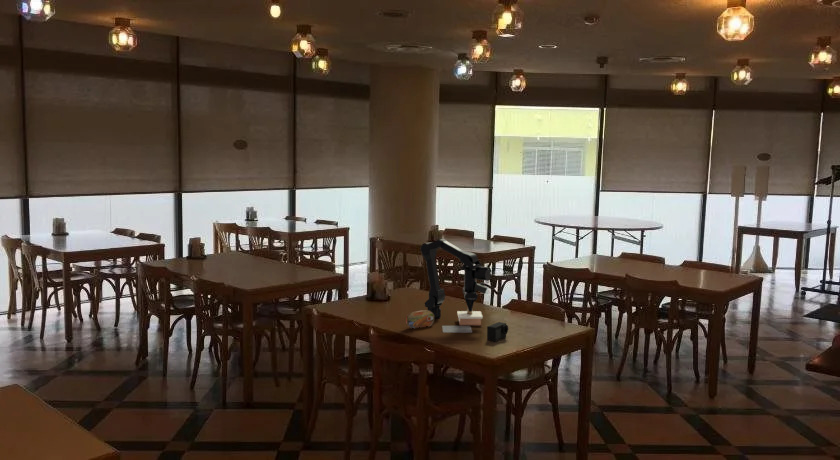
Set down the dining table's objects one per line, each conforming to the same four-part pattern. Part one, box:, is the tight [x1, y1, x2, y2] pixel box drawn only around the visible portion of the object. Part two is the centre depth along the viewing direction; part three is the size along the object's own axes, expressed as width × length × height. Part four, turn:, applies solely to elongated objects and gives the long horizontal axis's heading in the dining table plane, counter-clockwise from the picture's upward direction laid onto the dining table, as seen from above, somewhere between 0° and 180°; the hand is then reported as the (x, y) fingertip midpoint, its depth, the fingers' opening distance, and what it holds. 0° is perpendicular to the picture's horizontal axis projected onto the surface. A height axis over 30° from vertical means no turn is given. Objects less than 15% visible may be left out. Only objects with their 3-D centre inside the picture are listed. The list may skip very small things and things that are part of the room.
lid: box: [456, 305, 484, 320], centre depth 360 cm, size 12×12×5 cm
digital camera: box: [486, 321, 509, 343], centre depth 330 cm, size 10×5×7 cm, turn 144°
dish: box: [458, 319, 482, 326], centre depth 360 cm, size 10×10×4 cm
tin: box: [405, 309, 436, 329], centre depth 352 cm, size 15×3×8 cm, turn 117°
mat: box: [441, 325, 473, 334], centre depth 348 cm, size 14×13×1 cm
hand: (469, 309), depth 360 cm, fingers open, 9 cm apart
